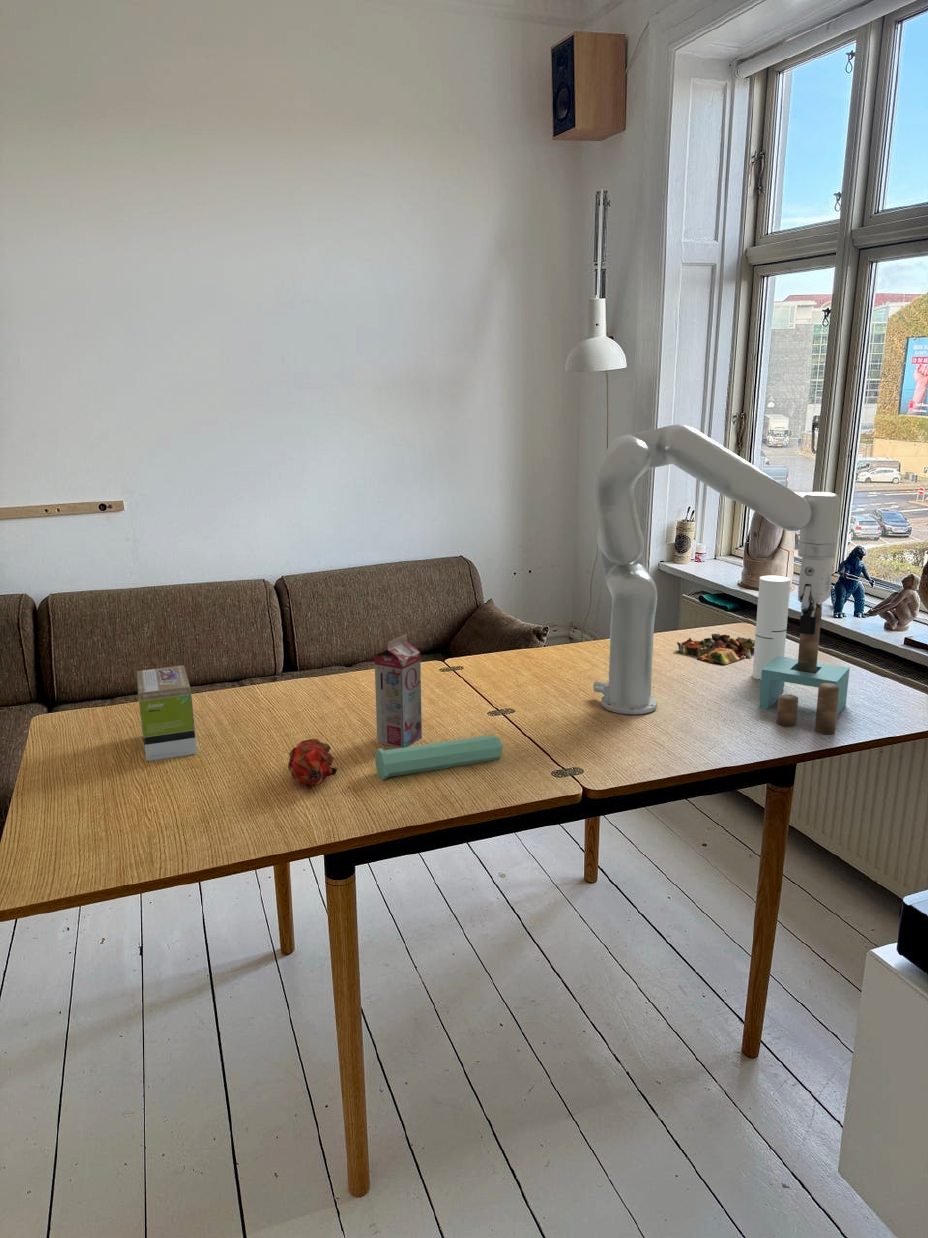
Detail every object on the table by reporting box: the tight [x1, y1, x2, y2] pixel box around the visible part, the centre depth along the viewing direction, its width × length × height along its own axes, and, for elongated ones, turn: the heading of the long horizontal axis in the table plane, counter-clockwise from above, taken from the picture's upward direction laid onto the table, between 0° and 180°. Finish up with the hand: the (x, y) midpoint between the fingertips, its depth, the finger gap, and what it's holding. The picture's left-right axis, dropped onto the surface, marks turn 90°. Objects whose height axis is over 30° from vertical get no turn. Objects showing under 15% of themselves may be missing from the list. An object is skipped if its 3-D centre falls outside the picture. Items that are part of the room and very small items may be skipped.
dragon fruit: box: [287, 738, 338, 790], centre depth 172 cm, size 8×8×12 cm
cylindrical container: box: [751, 574, 792, 680], centre depth 228 cm, size 7×7×25 cm
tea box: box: [136, 664, 198, 762], centre depth 189 cm, size 15×10×15 cm
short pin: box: [775, 693, 799, 728], centre depth 199 cm, size 4×4×6 cm
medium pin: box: [814, 683, 839, 736], centre depth 194 cm, size 4×4×10 cm
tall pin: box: [797, 606, 823, 674], centre depth 206 cm, size 4×4×15 cm
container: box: [374, 734, 504, 780], centre depth 179 cm, size 6×6×25 cm
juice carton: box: [373, 633, 423, 748], centre depth 189 cm, size 7×7×22 cm
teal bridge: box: [758, 656, 851, 717], centre depth 209 cm, size 16×12×9 cm
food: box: [676, 633, 755, 666], centre depth 252 cm, size 22×19×4 cm
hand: (809, 630), depth 206 cm, fingers closed on tall pin, 4 cm apart
